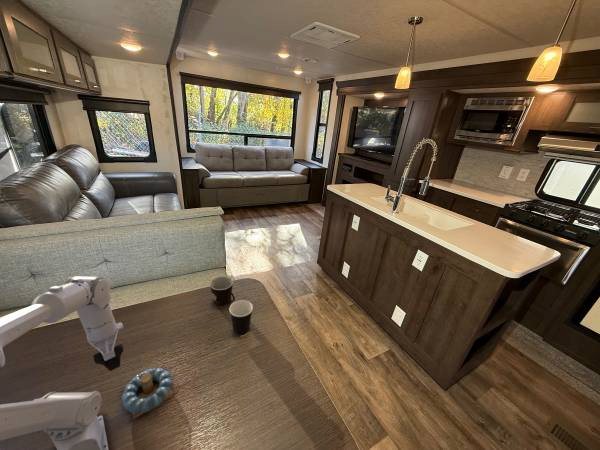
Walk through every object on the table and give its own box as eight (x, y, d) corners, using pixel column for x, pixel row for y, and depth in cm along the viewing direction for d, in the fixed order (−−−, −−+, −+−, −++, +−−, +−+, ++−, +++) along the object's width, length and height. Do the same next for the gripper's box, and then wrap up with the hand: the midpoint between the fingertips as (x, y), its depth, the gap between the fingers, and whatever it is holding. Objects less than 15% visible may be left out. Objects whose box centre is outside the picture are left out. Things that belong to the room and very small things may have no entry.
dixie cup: (254, 337, 86) (255, 313, 82) (231, 343, 83) (230, 318, 79) (250, 321, 93) (250, 298, 89) (228, 325, 90) (227, 302, 86)
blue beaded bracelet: (178, 395, 66) (177, 387, 65) (129, 426, 58) (126, 419, 57) (164, 365, 73) (163, 358, 72) (119, 390, 66) (116, 382, 64)
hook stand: (172, 395, 67) (169, 380, 64) (134, 419, 61) (129, 403, 58) (162, 370, 73) (159, 356, 70) (126, 390, 67) (121, 375, 64)
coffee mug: (210, 298, 102) (208, 278, 98) (231, 294, 106) (230, 274, 102) (213, 318, 93) (212, 297, 89) (236, 312, 96) (236, 292, 92)
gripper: (124, 330, 56) (136, 368, 62) (112, 294, 65) (124, 330, 71) (85, 347, 52) (102, 386, 58) (78, 306, 61) (93, 343, 67)
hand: (112, 356), depth 64 cm, fingers open, 7 cm apart
